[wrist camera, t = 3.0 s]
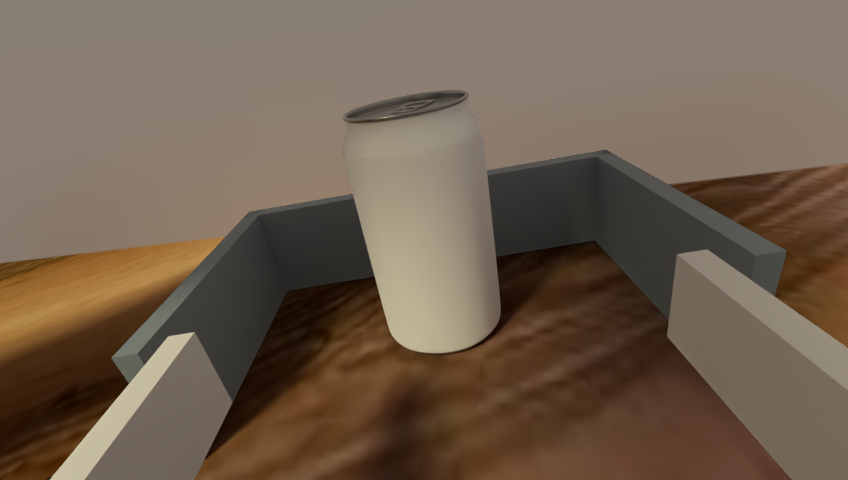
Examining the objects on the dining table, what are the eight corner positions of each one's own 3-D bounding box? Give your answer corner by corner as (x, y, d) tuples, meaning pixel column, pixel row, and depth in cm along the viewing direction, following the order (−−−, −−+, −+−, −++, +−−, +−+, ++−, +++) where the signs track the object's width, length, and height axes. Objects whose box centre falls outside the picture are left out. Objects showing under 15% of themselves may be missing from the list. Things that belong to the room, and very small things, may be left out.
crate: (752, 380, 16) (786, 251, 14) (182, 462, 17) (111, 357, 15) (603, 232, 29) (605, 149, 26) (278, 285, 30) (249, 211, 27)
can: (369, 349, 22) (302, 127, 17) (416, 283, 27) (377, 97, 22) (484, 369, 19) (449, 112, 14) (513, 291, 24) (494, 82, 19)
